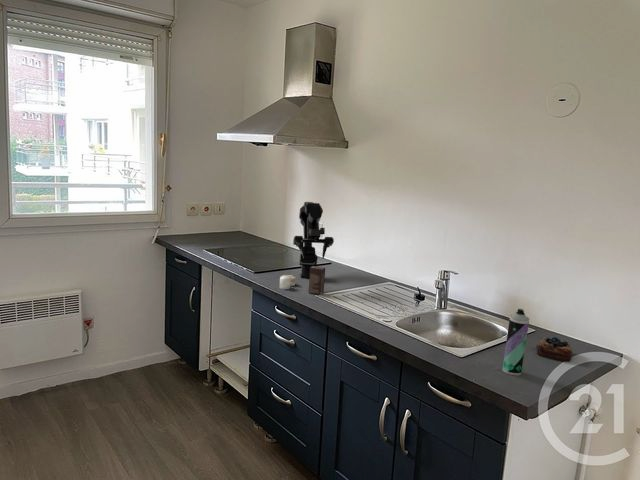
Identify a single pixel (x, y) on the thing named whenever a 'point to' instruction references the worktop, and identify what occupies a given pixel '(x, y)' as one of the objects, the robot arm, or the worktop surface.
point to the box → (316, 280)
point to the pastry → (554, 349)
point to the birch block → (291, 279)
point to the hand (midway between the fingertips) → (313, 258)
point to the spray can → (516, 343)
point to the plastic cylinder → (285, 282)
